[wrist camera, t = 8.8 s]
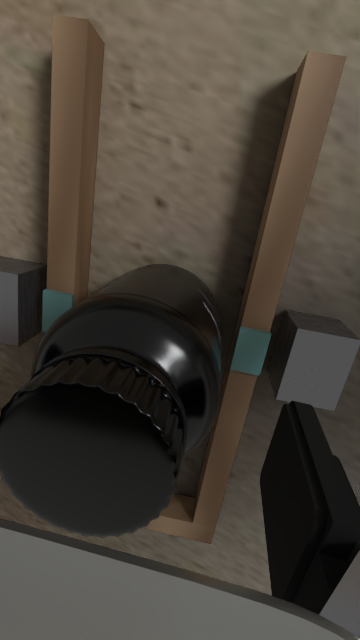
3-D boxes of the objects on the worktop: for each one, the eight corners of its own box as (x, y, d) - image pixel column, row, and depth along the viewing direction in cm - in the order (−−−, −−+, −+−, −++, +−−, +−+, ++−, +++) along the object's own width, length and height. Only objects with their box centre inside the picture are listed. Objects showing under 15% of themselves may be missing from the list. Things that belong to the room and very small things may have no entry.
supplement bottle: (245, 313, 18) (287, 476, 7) (171, 389, 21) (114, 605, 9) (153, 234, 18) (37, 276, 6) (86, 321, 20) (-90, 468, 9)
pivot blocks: (339, 320, 18) (361, 340, 15) (317, 381, 19) (334, 411, 16) (-1, 255, 19) (-39, 263, 16) (1, 318, 20) (-34, 336, 18)
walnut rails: (330, 76, 14) (350, 53, 12) (212, 517, 24) (211, 548, 22) (72, 38, 15) (48, 10, 13) (54, 482, 24) (38, 508, 22)
